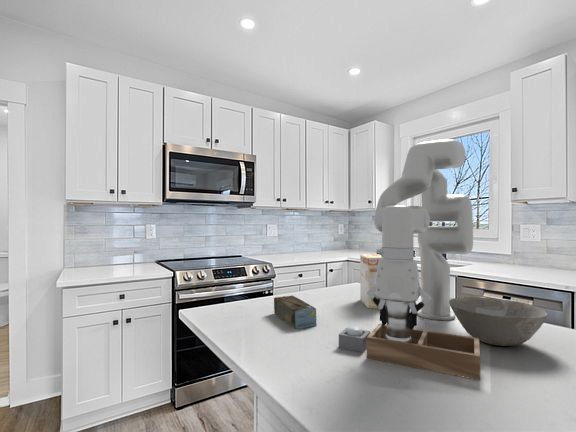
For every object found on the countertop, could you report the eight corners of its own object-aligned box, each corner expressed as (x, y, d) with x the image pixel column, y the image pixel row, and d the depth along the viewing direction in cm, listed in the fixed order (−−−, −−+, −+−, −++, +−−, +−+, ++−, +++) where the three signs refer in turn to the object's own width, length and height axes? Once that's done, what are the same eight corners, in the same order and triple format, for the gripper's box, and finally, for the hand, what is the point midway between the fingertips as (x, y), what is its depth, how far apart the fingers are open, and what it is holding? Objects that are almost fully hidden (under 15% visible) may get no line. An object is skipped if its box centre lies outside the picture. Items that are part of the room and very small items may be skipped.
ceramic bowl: (553, 365, 78) (552, 322, 78) (444, 346, 90) (443, 308, 90) (542, 337, 96) (541, 302, 96) (453, 324, 109) (453, 293, 109)
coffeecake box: (386, 308, 128) (386, 257, 128) (367, 308, 128) (367, 257, 129) (376, 299, 143) (376, 253, 143) (359, 299, 143) (359, 253, 143)
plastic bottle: (414, 360, 80) (414, 276, 81) (385, 357, 82) (385, 275, 82) (410, 350, 87) (410, 272, 87) (383, 348, 88) (383, 271, 88)
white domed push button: (349, 334, 92) (349, 325, 93) (364, 336, 91) (364, 327, 91) (345, 339, 89) (345, 329, 89) (359, 341, 87) (359, 331, 87)
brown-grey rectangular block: (294, 329, 104) (294, 308, 104) (272, 314, 122) (272, 296, 122) (317, 326, 107) (317, 305, 107) (293, 312, 125) (293, 294, 125)
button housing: (346, 340, 94) (346, 327, 94) (370, 344, 91) (370, 331, 91) (338, 347, 88) (338, 334, 89) (363, 352, 85) (363, 338, 85)
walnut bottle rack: (379, 341, 93) (379, 323, 93) (479, 359, 81) (478, 338, 81) (366, 357, 82) (366, 337, 82) (480, 380, 70) (479, 356, 70)
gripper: (359, 254, 86) (360, 325, 85) (433, 257, 77) (433, 336, 77) (367, 251, 92) (368, 317, 92) (436, 254, 84) (436, 327, 84)
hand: (398, 325), depth 84 cm, fingers closed on plastic bottle, 6 cm apart
